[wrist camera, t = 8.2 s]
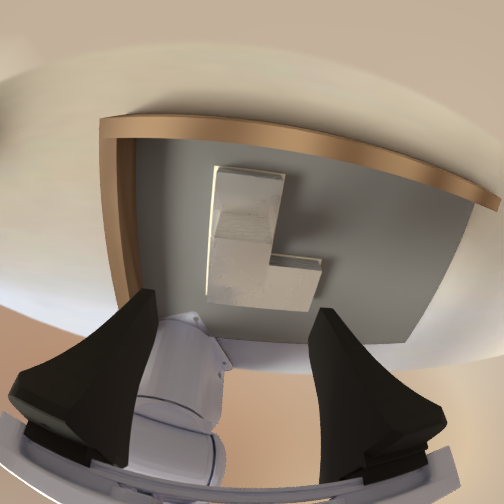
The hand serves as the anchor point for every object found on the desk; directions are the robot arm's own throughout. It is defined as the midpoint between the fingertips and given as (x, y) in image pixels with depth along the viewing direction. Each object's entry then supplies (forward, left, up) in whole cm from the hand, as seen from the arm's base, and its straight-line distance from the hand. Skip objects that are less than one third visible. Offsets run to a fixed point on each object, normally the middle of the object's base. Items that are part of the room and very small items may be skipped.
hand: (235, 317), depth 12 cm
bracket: (-1, -2, -9) cm, 9 cm away
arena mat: (-4, -4, -9) cm, 11 cm away
